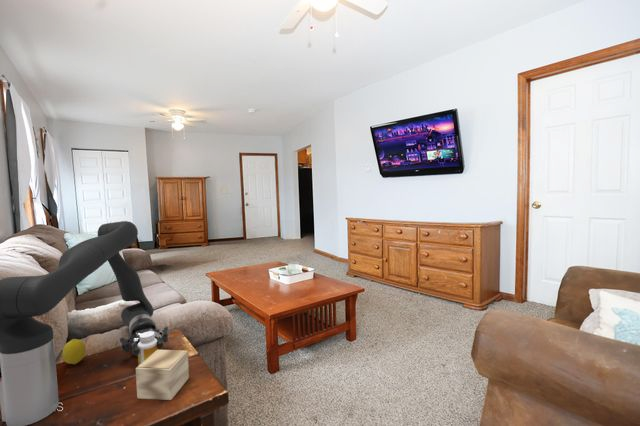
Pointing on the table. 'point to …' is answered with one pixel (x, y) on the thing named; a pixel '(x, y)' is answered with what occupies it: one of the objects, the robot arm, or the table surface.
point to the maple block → (162, 374)
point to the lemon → (73, 351)
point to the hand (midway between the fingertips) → (148, 349)
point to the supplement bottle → (146, 346)
